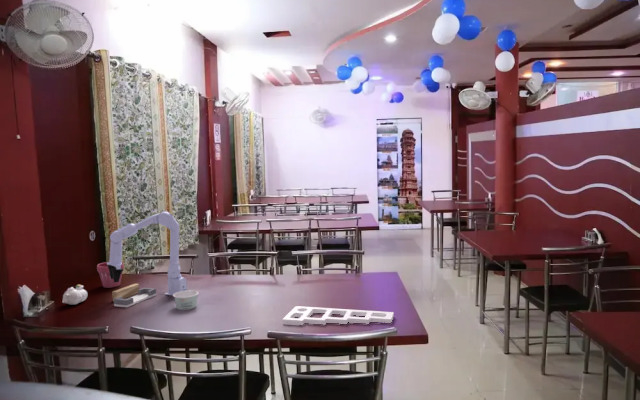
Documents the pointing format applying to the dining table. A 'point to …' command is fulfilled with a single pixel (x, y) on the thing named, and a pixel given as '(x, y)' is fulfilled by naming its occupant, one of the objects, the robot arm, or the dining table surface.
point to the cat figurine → (74, 295)
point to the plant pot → (107, 275)
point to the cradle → (135, 297)
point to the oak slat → (126, 291)
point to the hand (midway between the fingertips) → (114, 280)
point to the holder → (306, 312)
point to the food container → (186, 299)
